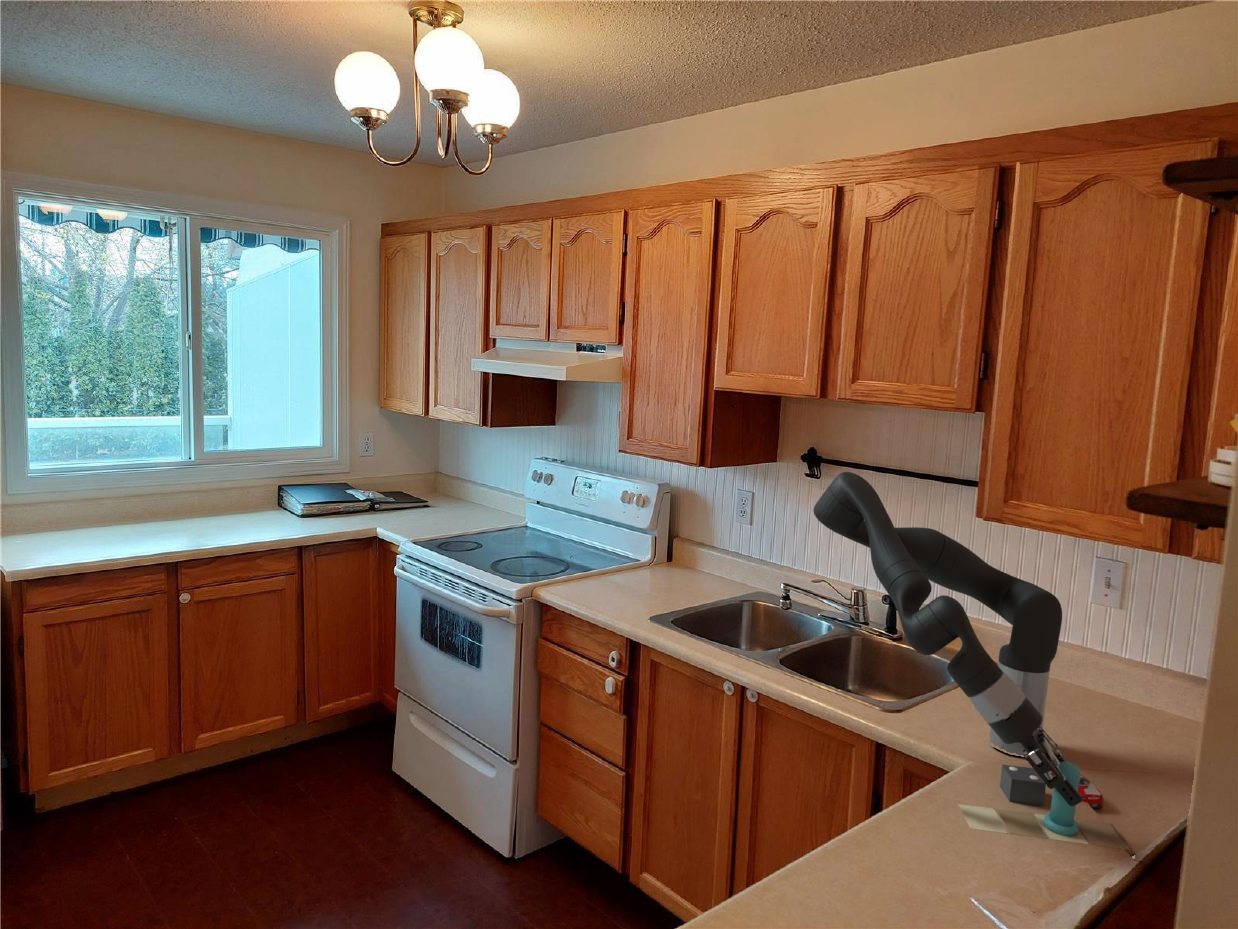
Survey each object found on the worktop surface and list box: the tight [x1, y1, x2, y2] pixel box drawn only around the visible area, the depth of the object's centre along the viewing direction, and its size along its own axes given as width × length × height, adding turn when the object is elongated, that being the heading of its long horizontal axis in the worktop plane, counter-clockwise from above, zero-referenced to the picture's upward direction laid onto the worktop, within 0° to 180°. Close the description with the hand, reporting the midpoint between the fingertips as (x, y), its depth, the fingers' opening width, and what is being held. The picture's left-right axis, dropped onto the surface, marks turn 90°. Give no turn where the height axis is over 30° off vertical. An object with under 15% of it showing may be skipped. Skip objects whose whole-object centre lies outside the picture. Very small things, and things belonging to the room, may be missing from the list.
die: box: [999, 763, 1047, 807], centre depth 146 cm, size 6×6×6 cm
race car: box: [1048, 771, 1104, 809], centre depth 152 cm, size 13×5×4 cm, turn 7°
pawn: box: [1044, 760, 1082, 836], centre depth 136 cm, size 5×5×11 cm
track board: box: [958, 803, 1137, 858], centre depth 137 cm, size 9×25×2 cm, turn 81°
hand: (1074, 791), depth 135 cm, fingers open, 8 cm apart
